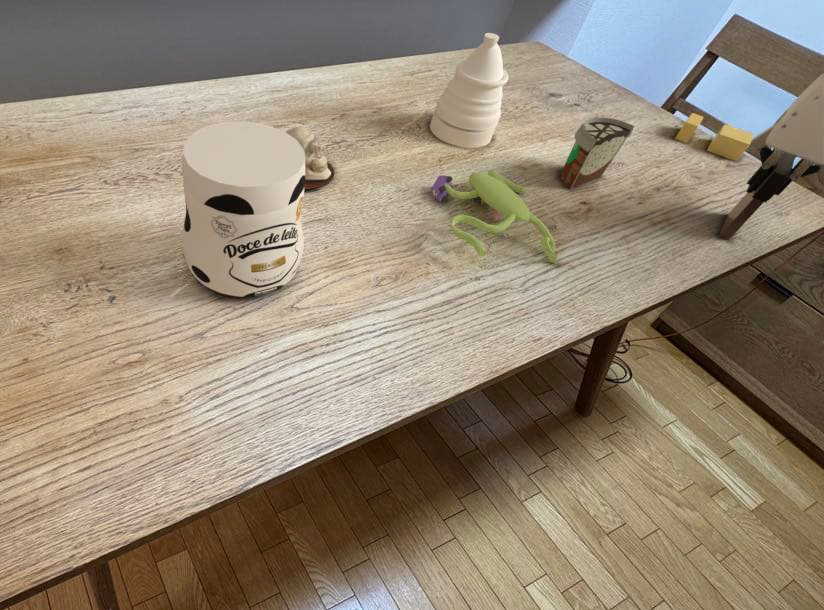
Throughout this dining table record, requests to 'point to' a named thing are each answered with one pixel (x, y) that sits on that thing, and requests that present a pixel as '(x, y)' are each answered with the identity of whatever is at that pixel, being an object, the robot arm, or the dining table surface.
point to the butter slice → (689, 127)
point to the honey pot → (472, 98)
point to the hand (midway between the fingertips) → (759, 192)
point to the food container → (594, 149)
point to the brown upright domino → (739, 215)
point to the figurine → (493, 207)
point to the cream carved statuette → (312, 158)
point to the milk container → (243, 207)
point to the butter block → (730, 142)
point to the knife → (775, 178)
